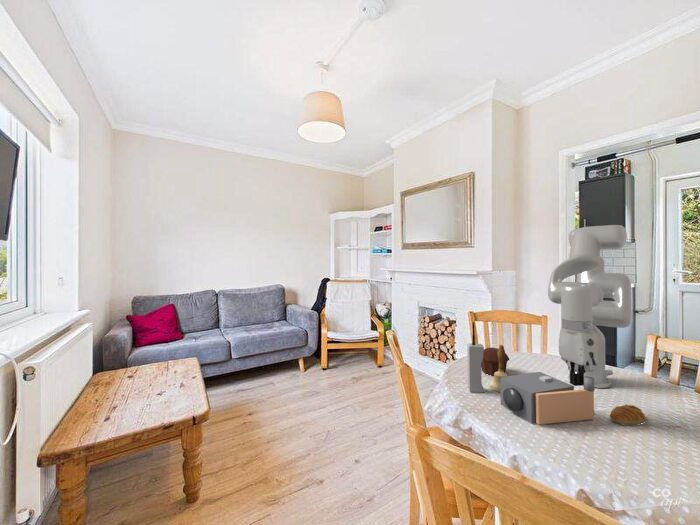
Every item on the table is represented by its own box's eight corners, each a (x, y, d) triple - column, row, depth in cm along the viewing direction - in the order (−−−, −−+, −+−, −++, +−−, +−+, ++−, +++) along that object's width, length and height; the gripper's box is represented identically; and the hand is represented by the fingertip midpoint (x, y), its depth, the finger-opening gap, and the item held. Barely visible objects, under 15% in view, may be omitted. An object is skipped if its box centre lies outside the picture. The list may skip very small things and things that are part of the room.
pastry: (630, 430, 82) (630, 417, 82) (602, 418, 88) (602, 406, 88) (649, 423, 86) (649, 410, 86) (620, 412, 92) (620, 400, 92)
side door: (589, 415, 89) (588, 376, 89) (596, 420, 86) (596, 379, 86) (534, 421, 86) (533, 380, 86) (540, 425, 84) (540, 383, 84)
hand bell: (510, 384, 113) (509, 342, 112) (516, 394, 104) (516, 349, 104) (486, 382, 115) (486, 341, 114) (491, 392, 107) (490, 348, 106)
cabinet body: (539, 397, 102) (539, 369, 101) (574, 415, 90) (573, 383, 90) (496, 405, 97) (496, 375, 97) (527, 424, 86) (526, 391, 85)
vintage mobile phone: (484, 393, 106) (483, 323, 105) (469, 392, 107) (468, 323, 106) (482, 388, 109) (481, 321, 109) (467, 387, 110) (466, 321, 110)
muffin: (476, 374, 123) (476, 350, 122) (480, 365, 132) (480, 343, 132) (508, 380, 116) (508, 354, 116) (510, 370, 126) (510, 347, 126)
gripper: (611, 330, 83) (611, 395, 84) (568, 319, 98) (568, 374, 99) (585, 331, 83) (586, 396, 83) (546, 320, 98) (547, 375, 98)
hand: (576, 384), depth 91 cm, fingers closed
